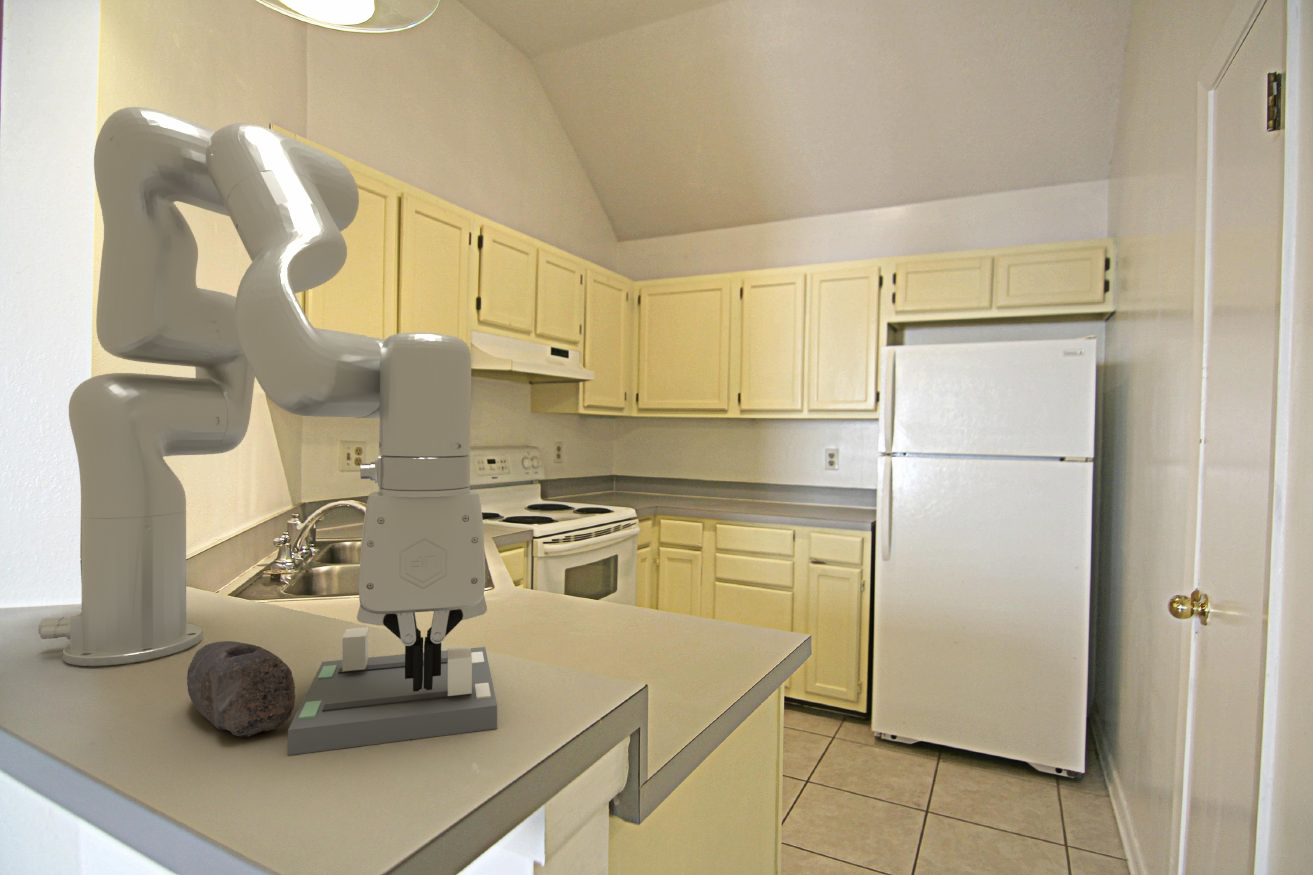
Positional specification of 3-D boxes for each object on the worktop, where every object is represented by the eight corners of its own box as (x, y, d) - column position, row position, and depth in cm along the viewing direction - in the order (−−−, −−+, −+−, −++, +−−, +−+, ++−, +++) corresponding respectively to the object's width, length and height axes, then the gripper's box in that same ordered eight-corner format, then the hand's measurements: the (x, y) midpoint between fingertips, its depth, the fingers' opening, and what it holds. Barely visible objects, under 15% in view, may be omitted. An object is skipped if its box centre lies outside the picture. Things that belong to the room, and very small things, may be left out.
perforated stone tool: (168, 707, 61) (167, 632, 61) (232, 690, 65) (232, 619, 65) (231, 758, 52) (231, 670, 52) (301, 734, 56) (301, 652, 56)
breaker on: (342, 671, 64) (342, 637, 63) (346, 660, 66) (346, 628, 66) (365, 669, 64) (365, 636, 64) (368, 658, 67) (368, 627, 67)
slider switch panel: (287, 755, 52) (288, 728, 52) (322, 681, 68) (322, 660, 68) (497, 728, 57) (497, 703, 57) (485, 665, 72) (485, 645, 72)
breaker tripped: (447, 696, 58) (447, 659, 58) (447, 683, 61) (447, 648, 61) (471, 693, 58) (471, 657, 58) (470, 681, 61) (470, 646, 61)
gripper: (323, 481, 52) (321, 712, 53) (516, 479, 57) (513, 692, 57) (338, 474, 60) (336, 677, 60) (508, 473, 64) (506, 662, 64)
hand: (423, 684), depth 59 cm, fingers closed
